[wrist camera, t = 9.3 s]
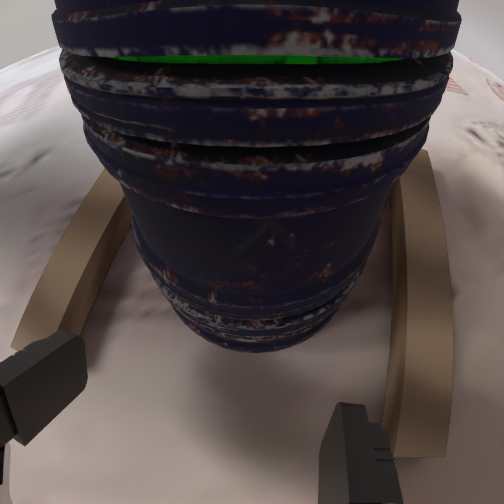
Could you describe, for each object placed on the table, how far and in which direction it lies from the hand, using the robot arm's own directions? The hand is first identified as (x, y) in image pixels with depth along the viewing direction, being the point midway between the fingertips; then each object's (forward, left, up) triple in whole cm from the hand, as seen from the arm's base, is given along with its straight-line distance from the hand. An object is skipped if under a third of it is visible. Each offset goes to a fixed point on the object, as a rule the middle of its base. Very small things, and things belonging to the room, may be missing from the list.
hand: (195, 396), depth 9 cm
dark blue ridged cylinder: (-5, +5, -5) cm, 9 cm away
